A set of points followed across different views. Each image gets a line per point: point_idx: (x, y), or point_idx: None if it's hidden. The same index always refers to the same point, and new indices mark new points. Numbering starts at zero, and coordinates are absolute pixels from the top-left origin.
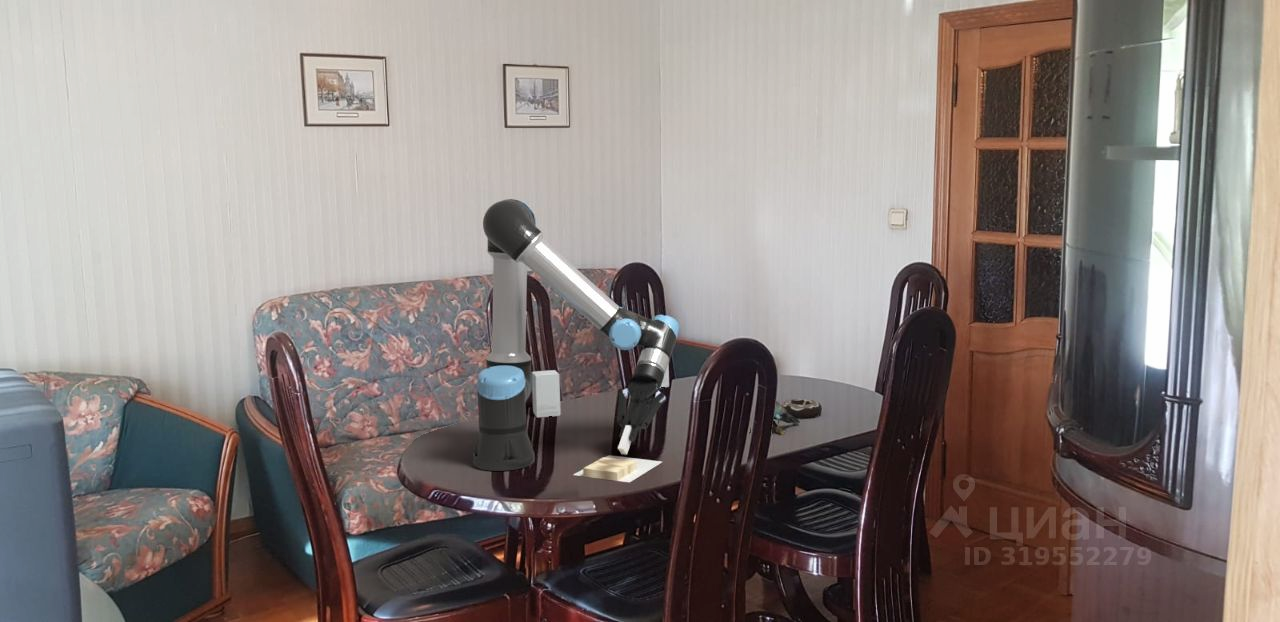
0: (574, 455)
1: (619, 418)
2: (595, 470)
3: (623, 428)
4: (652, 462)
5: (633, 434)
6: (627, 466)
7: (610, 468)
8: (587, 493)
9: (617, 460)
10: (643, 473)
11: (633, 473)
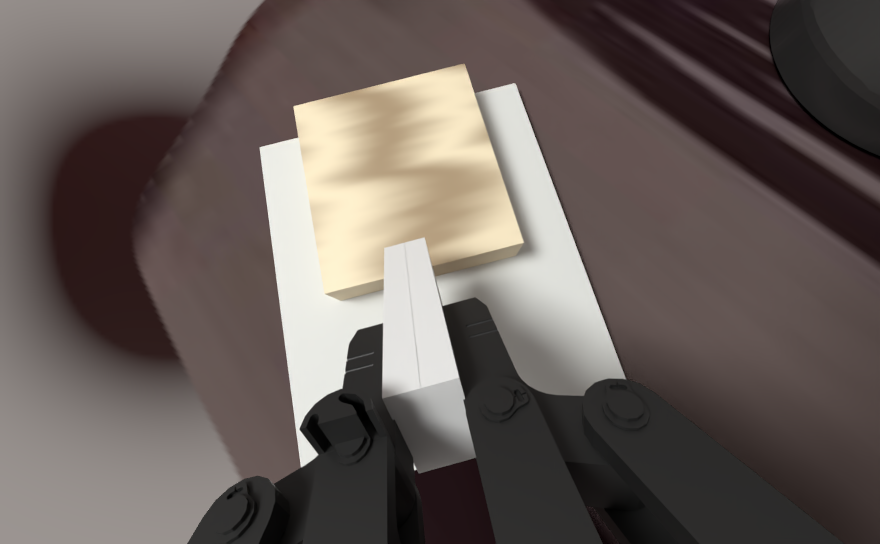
0: (803, 327)
1: (643, 433)
2: (402, 80)
3: (489, 367)
4: None
5: (351, 359)
6: (309, 197)
7: (358, 128)
8: (337, 13)
9: None
10: (276, 269)
11: (314, 242)
